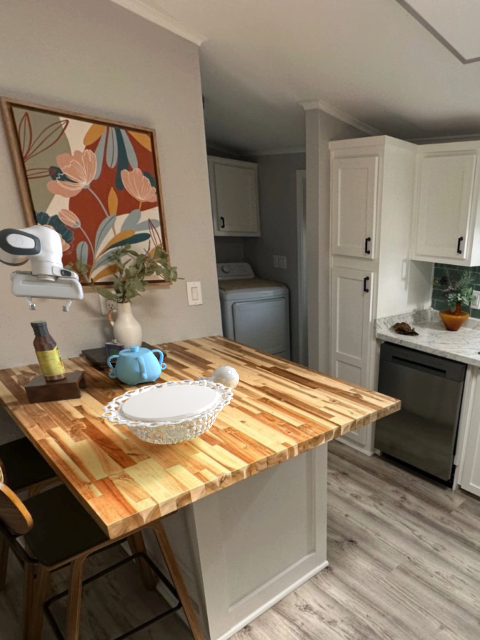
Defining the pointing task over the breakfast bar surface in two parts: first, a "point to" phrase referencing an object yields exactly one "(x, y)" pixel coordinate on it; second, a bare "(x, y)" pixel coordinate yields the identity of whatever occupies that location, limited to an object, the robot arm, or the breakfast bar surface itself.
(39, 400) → the shelf
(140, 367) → the decorative pot
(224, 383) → the potion bottle
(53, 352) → the sauce bottle
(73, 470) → the breakfast bar surface
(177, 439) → the white lattice bowl
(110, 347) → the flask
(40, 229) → the robot arm
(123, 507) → the breakfast bar surface
